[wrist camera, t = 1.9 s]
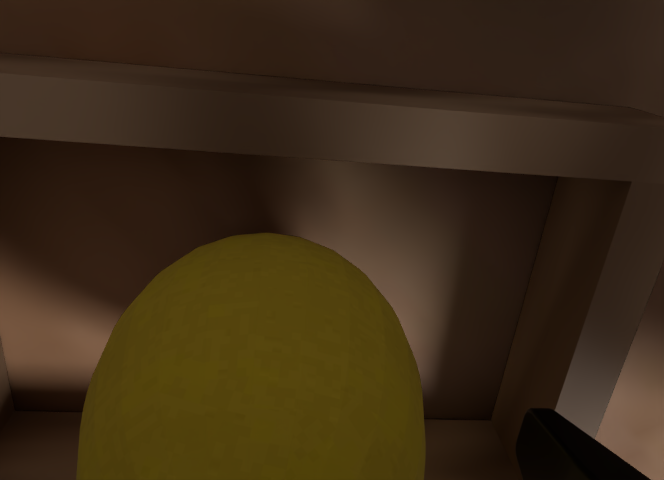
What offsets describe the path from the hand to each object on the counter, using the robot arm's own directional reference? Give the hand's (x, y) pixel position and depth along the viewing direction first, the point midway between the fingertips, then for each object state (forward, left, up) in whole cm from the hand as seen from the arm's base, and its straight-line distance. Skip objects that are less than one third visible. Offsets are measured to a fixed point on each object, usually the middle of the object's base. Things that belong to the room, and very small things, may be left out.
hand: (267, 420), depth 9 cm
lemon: (0, 0, -5) cm, 5 cm away
